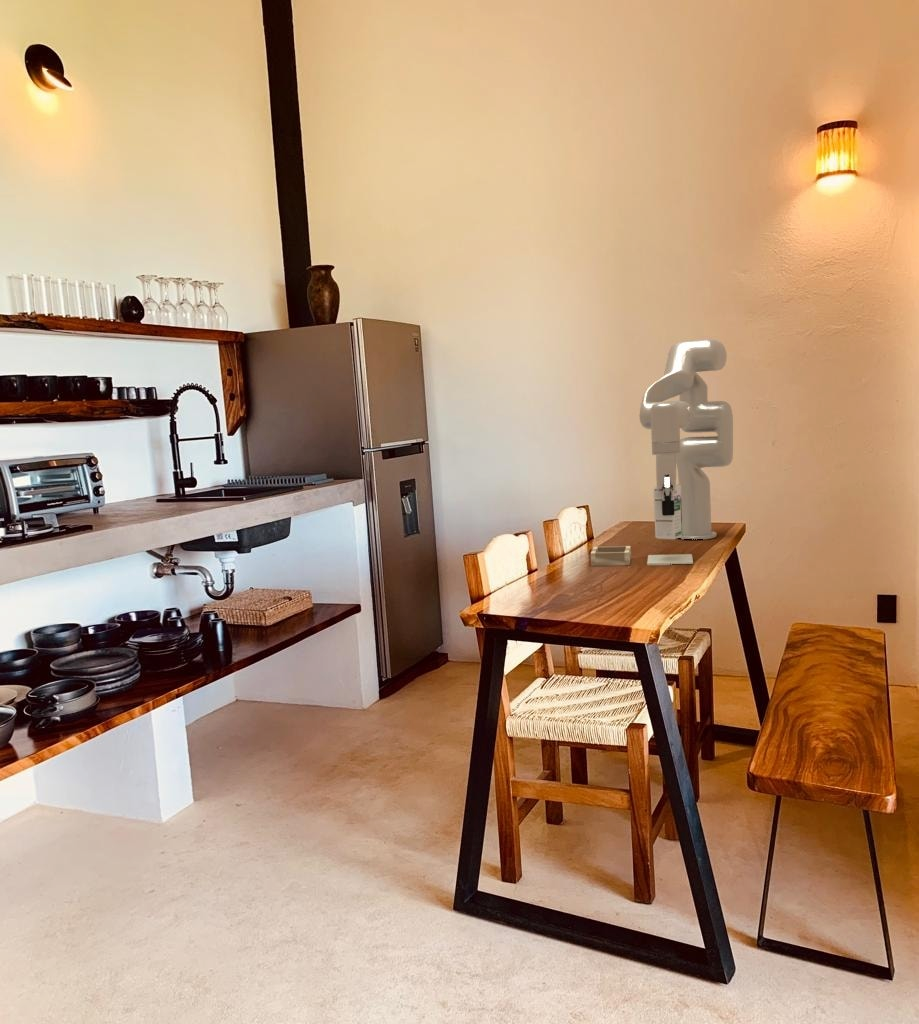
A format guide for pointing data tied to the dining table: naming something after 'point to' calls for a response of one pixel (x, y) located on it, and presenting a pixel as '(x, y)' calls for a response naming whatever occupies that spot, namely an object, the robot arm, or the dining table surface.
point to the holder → (610, 555)
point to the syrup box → (668, 516)
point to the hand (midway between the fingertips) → (668, 512)
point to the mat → (670, 559)
